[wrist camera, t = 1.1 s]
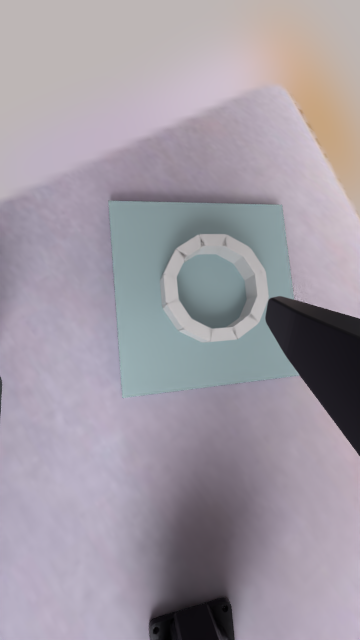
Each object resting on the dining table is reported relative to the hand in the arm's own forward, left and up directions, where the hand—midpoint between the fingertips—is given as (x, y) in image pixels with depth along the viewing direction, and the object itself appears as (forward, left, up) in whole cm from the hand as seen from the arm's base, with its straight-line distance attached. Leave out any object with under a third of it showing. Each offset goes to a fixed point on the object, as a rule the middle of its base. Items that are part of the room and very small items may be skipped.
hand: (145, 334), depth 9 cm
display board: (+4, -7, -15) cm, 17 cm away
